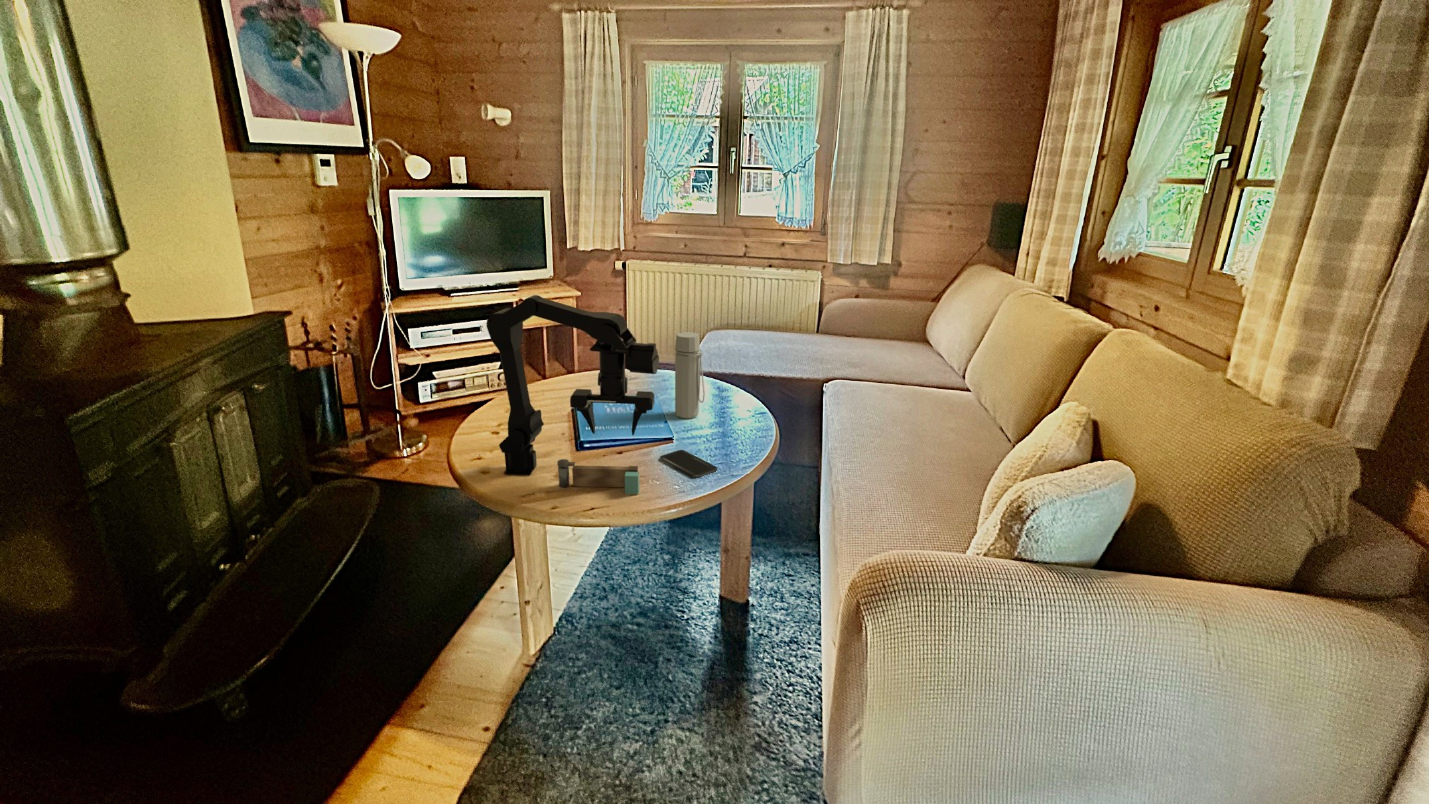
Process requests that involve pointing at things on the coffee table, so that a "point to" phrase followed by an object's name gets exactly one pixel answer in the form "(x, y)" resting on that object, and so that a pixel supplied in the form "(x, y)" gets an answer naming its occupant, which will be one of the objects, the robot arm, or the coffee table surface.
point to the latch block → (631, 482)
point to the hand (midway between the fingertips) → (613, 433)
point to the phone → (688, 464)
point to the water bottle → (687, 375)
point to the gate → (598, 474)
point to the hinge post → (564, 477)
